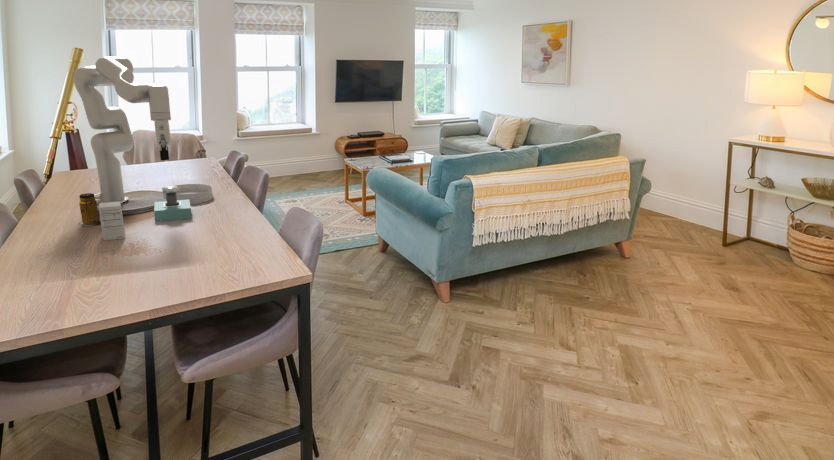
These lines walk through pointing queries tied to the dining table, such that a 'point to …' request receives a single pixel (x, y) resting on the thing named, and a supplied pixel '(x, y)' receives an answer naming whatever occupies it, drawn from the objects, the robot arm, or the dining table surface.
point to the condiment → (89, 210)
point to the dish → (193, 193)
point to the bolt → (171, 195)
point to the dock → (172, 211)
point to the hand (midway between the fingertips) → (164, 158)
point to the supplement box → (111, 220)
